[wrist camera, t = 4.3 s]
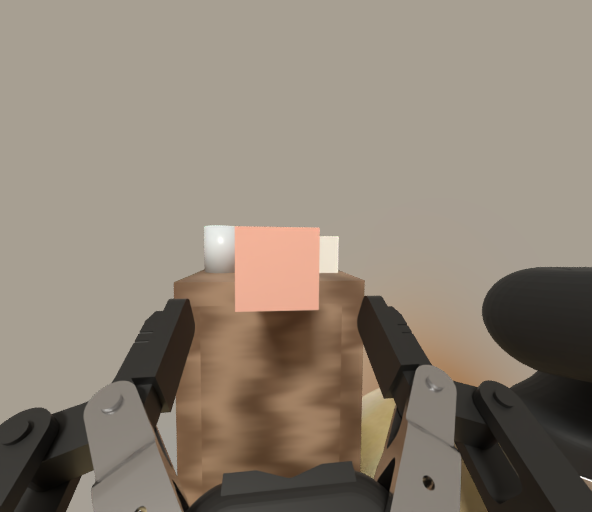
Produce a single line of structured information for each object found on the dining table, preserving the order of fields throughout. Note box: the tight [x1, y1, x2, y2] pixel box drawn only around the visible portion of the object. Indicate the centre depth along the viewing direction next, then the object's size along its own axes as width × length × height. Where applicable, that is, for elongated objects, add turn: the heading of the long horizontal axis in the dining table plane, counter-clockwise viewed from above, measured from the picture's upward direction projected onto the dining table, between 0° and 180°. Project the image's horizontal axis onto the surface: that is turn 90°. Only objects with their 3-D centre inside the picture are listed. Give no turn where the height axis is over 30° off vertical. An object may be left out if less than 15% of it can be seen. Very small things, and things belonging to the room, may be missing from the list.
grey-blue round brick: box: [204, 226, 235, 273], centre depth 28 cm, size 4×4×5 cm
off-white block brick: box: [319, 236, 339, 273], centre depth 29 cm, size 4×5×4 cm
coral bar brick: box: [235, 226, 320, 312], centre depth 23 cm, size 4×23×4 cm, turn 7°
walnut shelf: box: [174, 269, 365, 506], centre depth 28 cm, size 16×14×32 cm
